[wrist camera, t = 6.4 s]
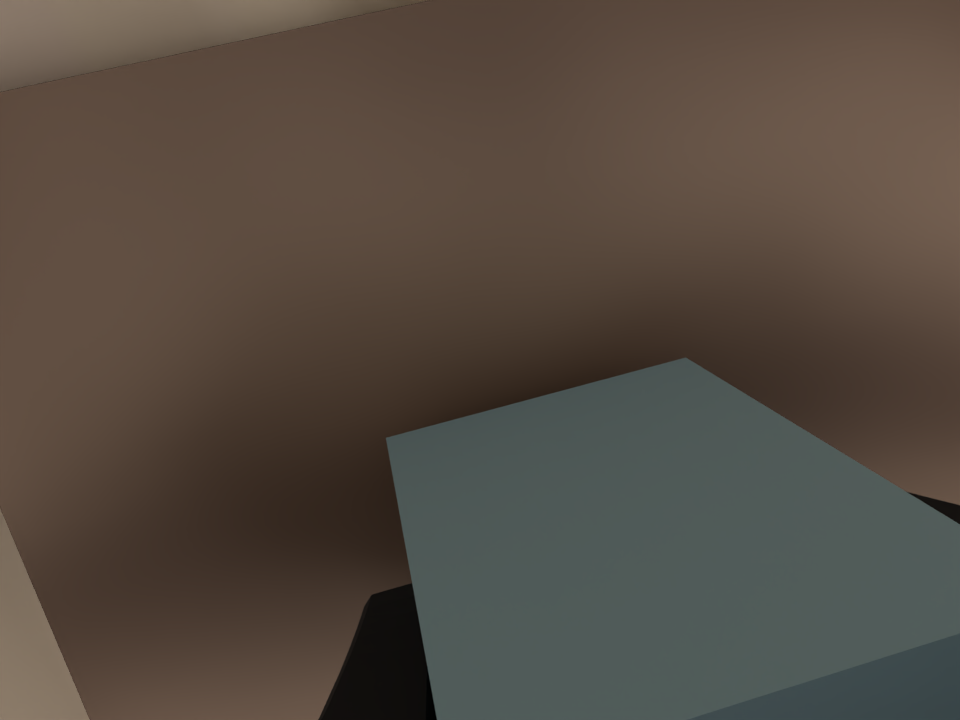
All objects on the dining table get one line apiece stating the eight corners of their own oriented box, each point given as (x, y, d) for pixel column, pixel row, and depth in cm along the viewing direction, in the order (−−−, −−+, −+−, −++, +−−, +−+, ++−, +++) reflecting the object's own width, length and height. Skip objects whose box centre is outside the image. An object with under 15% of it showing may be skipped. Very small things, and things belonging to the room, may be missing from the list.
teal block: (726, 618, 12) (1083, 1053, 6) (456, 700, 12) (577, 1245, 6) (685, 357, 11) (1076, 596, 5) (385, 437, 10) (449, 794, 5)
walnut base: (913, 669, 17) (1006, 754, 15) (234, 886, 16) (216, 1019, 13) (851, -69, 13) (966, -114, 11) (-61, 130, 12) (-162, 126, 9)
